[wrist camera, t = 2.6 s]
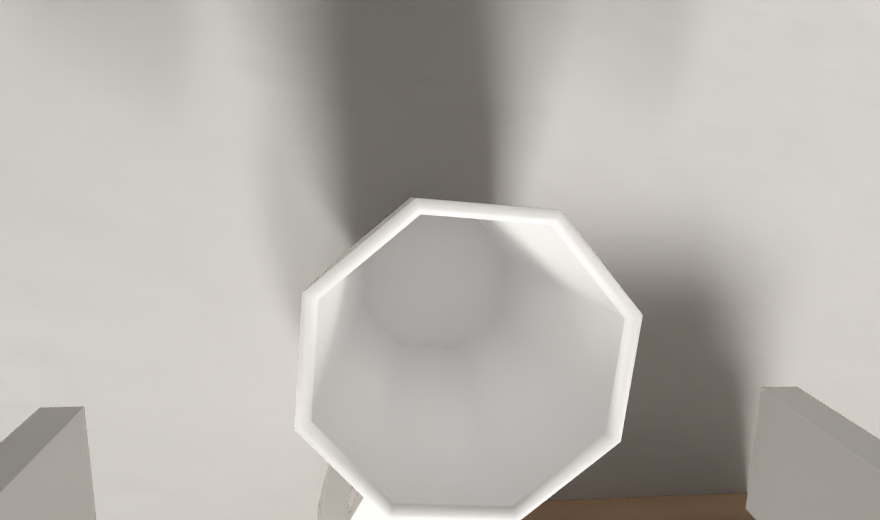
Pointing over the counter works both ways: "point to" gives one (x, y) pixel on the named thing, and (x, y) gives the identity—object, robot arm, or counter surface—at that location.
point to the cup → (462, 363)
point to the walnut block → (647, 508)
